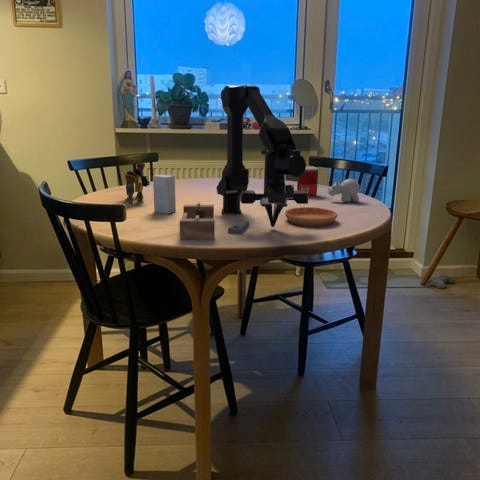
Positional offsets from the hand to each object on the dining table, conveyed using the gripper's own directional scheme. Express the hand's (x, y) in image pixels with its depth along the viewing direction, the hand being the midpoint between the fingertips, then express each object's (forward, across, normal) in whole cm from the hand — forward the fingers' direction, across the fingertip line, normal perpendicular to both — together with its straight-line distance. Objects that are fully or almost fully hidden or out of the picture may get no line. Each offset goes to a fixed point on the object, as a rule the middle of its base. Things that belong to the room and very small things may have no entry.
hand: (272, 226), depth 131 cm
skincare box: (+1, -33, +23) cm, 40 cm away
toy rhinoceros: (+1, +32, +41) cm, 52 cm away
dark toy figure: (+1, -45, +42) cm, 61 cm away
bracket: (+2, -10, 0) cm, 10 cm away
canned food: (+1, +22, +54) cm, 58 cm away
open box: (+1, -21, 0) cm, 21 cm away
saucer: (+1, +13, +10) cm, 17 cm away
